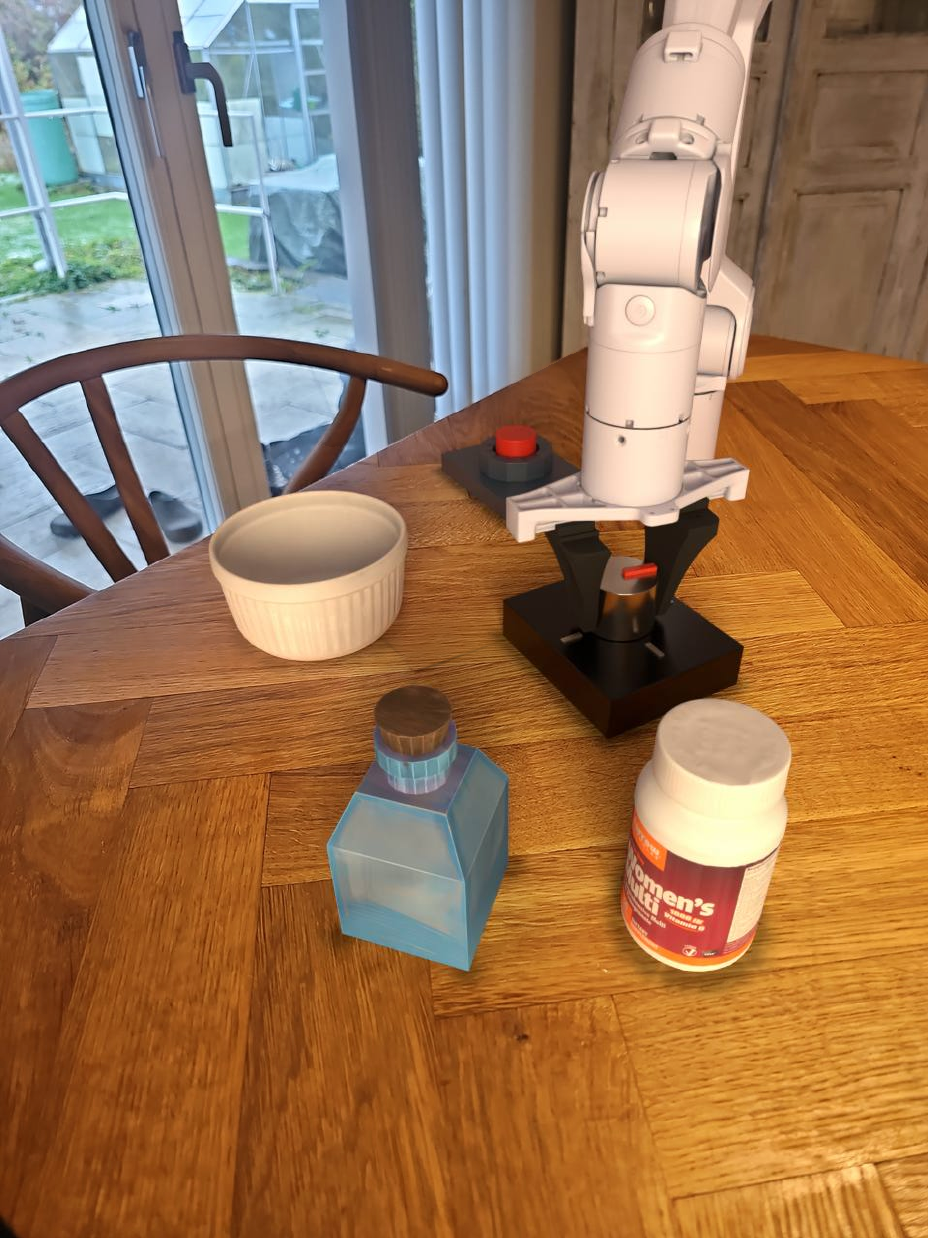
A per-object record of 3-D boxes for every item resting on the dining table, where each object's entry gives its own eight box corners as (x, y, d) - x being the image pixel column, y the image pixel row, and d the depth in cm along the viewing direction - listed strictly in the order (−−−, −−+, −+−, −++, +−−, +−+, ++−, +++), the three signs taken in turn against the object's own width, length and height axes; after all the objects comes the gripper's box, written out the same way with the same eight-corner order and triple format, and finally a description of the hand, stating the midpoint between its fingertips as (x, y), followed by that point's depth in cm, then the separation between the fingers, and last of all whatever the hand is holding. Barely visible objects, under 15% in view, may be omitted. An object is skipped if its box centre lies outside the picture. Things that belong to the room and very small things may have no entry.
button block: (441, 470, 80) (439, 435, 78) (522, 449, 83) (523, 415, 81) (507, 522, 71) (507, 484, 69) (594, 496, 75) (597, 460, 73)
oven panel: (502, 635, 58) (502, 597, 56) (620, 593, 62) (623, 556, 60) (607, 740, 49) (611, 698, 48) (737, 684, 53) (745, 644, 51)
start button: (488, 448, 76) (487, 430, 75) (522, 439, 77) (522, 421, 76) (508, 463, 73) (509, 444, 72) (543, 453, 75) (544, 435, 74)
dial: (599, 647, 52) (603, 595, 50) (573, 608, 55) (575, 558, 53) (665, 634, 53) (672, 582, 50) (635, 596, 56) (640, 547, 54)
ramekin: (239, 574, 66) (222, 493, 62) (409, 562, 66) (403, 481, 62) (213, 683, 55) (191, 593, 51) (417, 667, 55) (410, 577, 51)
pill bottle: (594, 925, 39) (612, 748, 33) (660, 843, 43) (688, 669, 37) (717, 1005, 36) (763, 825, 30) (777, 908, 40) (830, 730, 33)
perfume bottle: (508, 863, 42) (509, 677, 35) (468, 971, 38) (460, 781, 31) (394, 834, 44) (373, 651, 37) (342, 933, 39) (308, 745, 32)
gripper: (542, 459, 41) (536, 677, 49) (798, 415, 44) (754, 625, 52) (492, 408, 46) (494, 612, 54) (723, 373, 50) (693, 569, 58)
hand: (618, 615), depth 54 cm, fingers closed on dial, 4 cm apart
